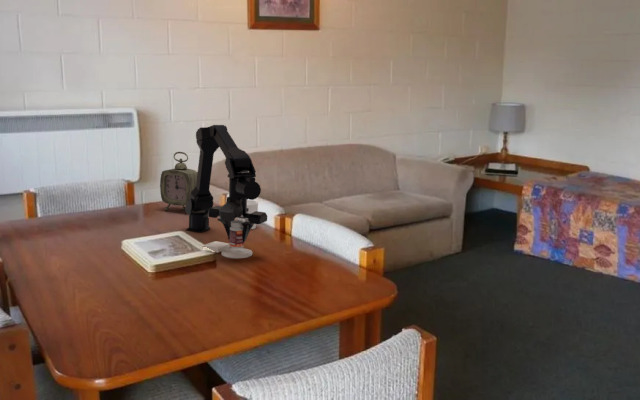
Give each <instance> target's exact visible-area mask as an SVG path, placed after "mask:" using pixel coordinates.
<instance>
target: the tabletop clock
mask: <svg viewBox="0 0 640 400" xmlns="http://www.w3.org/2000/svg"><path fill="white" fill-rule="evenodd" d="M178 154H183V155H184V156H186V159H184V160H183V158H179V159H177V158H176V155H178ZM173 159H174V160H175V161H176V162H177V163H176V164H175V166H174V168H171V169H166V170H163V171H162V172H161V174H160V183H159V187H160V188H159V191H160V198H161V200H162V202H164V203H165V204H167V206H166V207H164V211H166V212H167V211H169V208H170V206H172V205H173V206H180V207H181V206H182V208H181V209H182V211H185V206H186V204H187V202H188V200H189V199H190V194H191V192H192V191H193V190H194V188H195V187H196V182H197V173H198V171H196V170H195V169H192V168H188V167H187V164H186V162H188V160H189V156H188V154H187V153H185V152H183V151H176V152H175V153H173Z"/></svg>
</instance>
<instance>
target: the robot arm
mask: <svg viewBox="0 0 640 400" xmlns="http://www.w3.org/2000/svg"><path fill="white" fill-rule="evenodd" d="M195 138H196V145H197V146H198V148H199V157H198V167H197V172H198V173H197V182H196V187H195V188H194V190H193V191H192V192H191V194H190V199H189V200H188V202H187V204H186V205H184V207H185V210H184V212H185V214H187V215H188V227H187V228H186V231H191V232H197V233H203V232H205V231H208V230H210V229H211V227H210V218H212V219H213V218H214V219H217V221H219V222H220V223H221V224H222V225H223V227H224V229H225V233H226V236H227V238H228V240H229V241H230V227H232V226H231V221H234V220H235V219H236V218H237V219H238V218H244V219H245V222H243V223H242V225H243V242H244V243H245V242H246V241H247V239H248V236H249V234H250V231H251V228H252V226H253V225H254V224H256V225H261V224H263V223H266V222H267V221H268V215H267V213H266V212H264V211H255V212H253V213H251V214H250V213H247V212H248V210H249V208H247V200H253V201H255V200H256V199H257V198H259V196H260V195H261V193H262V187H261V186H260V184H259V183H258V182H257V181H256V177H257V176H256V175H257V174H256V173H257V172H256V169H255V167H254V164H253V160H252V159H251V156H250V155H249V154H248V153H247V152H246V151H245V150H243V149H240V148H239V147H238V145H237V144H236V143H235V140H234V139H233V137H232V136H231V134H230V133H229V131H228V128H227V126H226V125H225V124H213V125H210V126H207V127H206V126H205V127H204V126H203V127H201V126H200V127H199V128H197V129H196V132H195ZM219 148H220V150H221V151H222V154H223V156H224V157H225V161H224V165H225V169H226V171H227V172H228V174H227V178H228V179H229V180H228V181H229V183H228V184H229V187H228V189H229V190H228V196H227V197H226V201H225V204H224V203H223V205H222V206H221V205H215V206H214V196H213V195H212V193H211V190H210V186H211V177H212V170H213V161H214V155H215V153H216V152H217V150H218V149H219ZM242 215H243V216H242Z"/></svg>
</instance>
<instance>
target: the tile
mask: <svg viewBox="0 0 640 400" xmlns="http://www.w3.org/2000/svg"><path fill="white" fill-rule="evenodd" d="M203 247H207V248H209V249H211V250H213V251H215V252H214V253H220V252H222V251H223V250H225V249H228V248H231V247H230V246H229V242H228V243H227V242H223V241H216V240H214V241H211V242H209V243H206V244H203V245H202V248H203Z"/></svg>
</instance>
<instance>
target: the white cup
mask: <svg viewBox="0 0 640 400" xmlns="http://www.w3.org/2000/svg"><path fill="white" fill-rule="evenodd" d="M247 208H249V210H248V212H247V213H250V214H251V213H253V212H255V211H258V210H259V202H258V201H257V200H250V199H247ZM258 212H259V211H258ZM242 216H243V215H242ZM237 220H240V221H243V222H245V219H244V218H237ZM256 228H257V224H254V225H253V226H252V228H251V229H252V230H255V229H256Z"/></svg>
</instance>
